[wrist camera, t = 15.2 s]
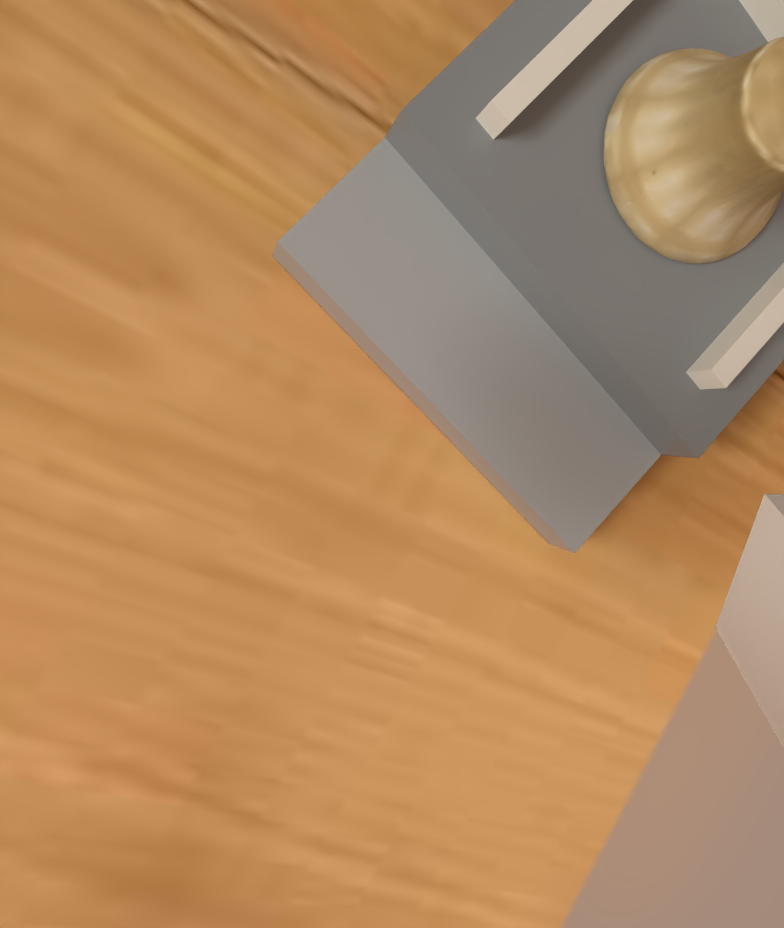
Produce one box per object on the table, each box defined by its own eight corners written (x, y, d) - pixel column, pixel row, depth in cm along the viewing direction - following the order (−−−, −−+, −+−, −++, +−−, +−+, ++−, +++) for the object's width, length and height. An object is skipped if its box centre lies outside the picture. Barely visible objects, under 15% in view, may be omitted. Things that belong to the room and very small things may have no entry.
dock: (272, 255, 29) (288, 211, 23) (611, -73, 32) (708, -194, 26) (548, 543, 33) (626, 572, 27) (828, 228, 36) (959, 188, 30)
